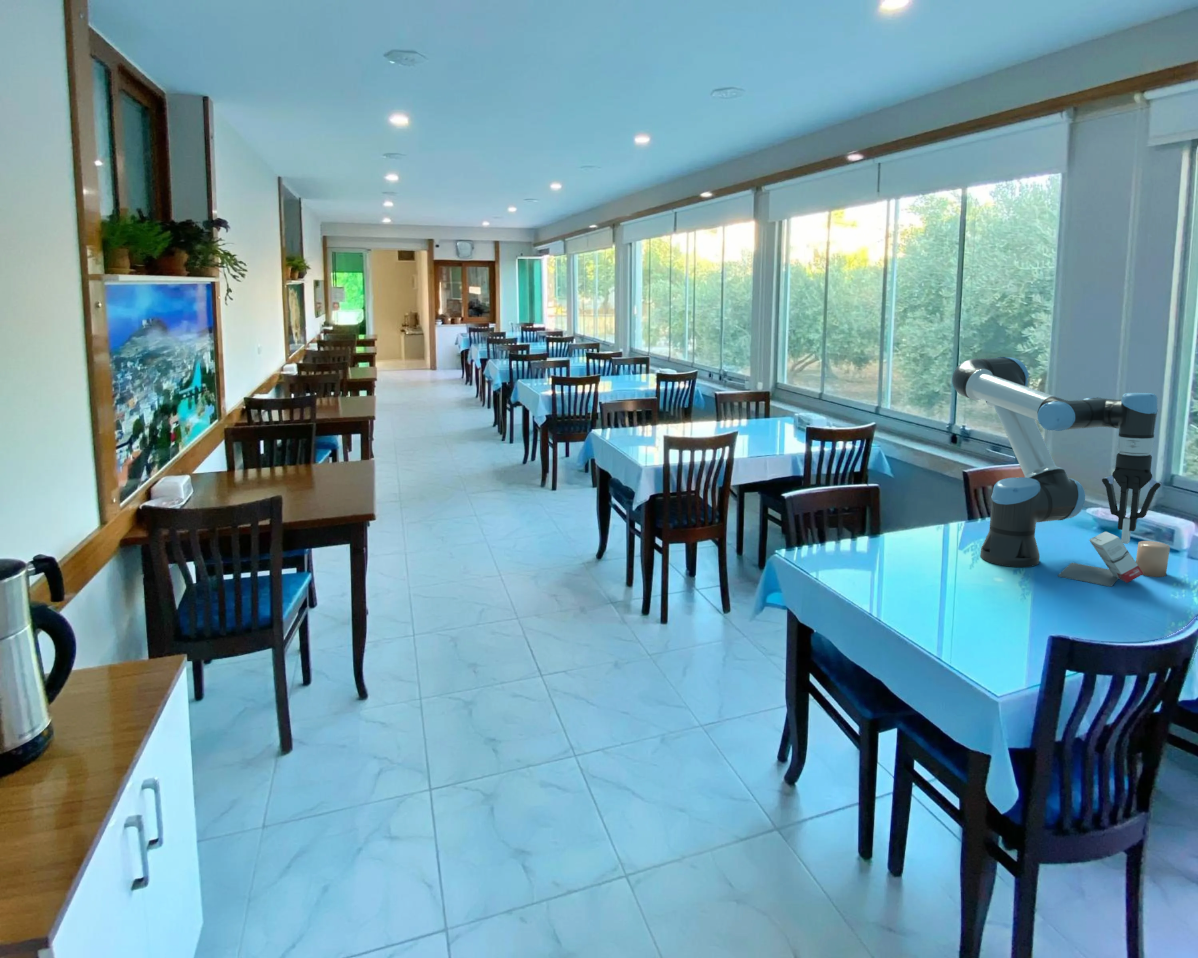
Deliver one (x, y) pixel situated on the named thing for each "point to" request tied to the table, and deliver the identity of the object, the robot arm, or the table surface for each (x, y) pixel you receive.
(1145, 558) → the beige domed cylinder
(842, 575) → the table surface
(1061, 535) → the table surface
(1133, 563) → the ink box
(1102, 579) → the slate mat
